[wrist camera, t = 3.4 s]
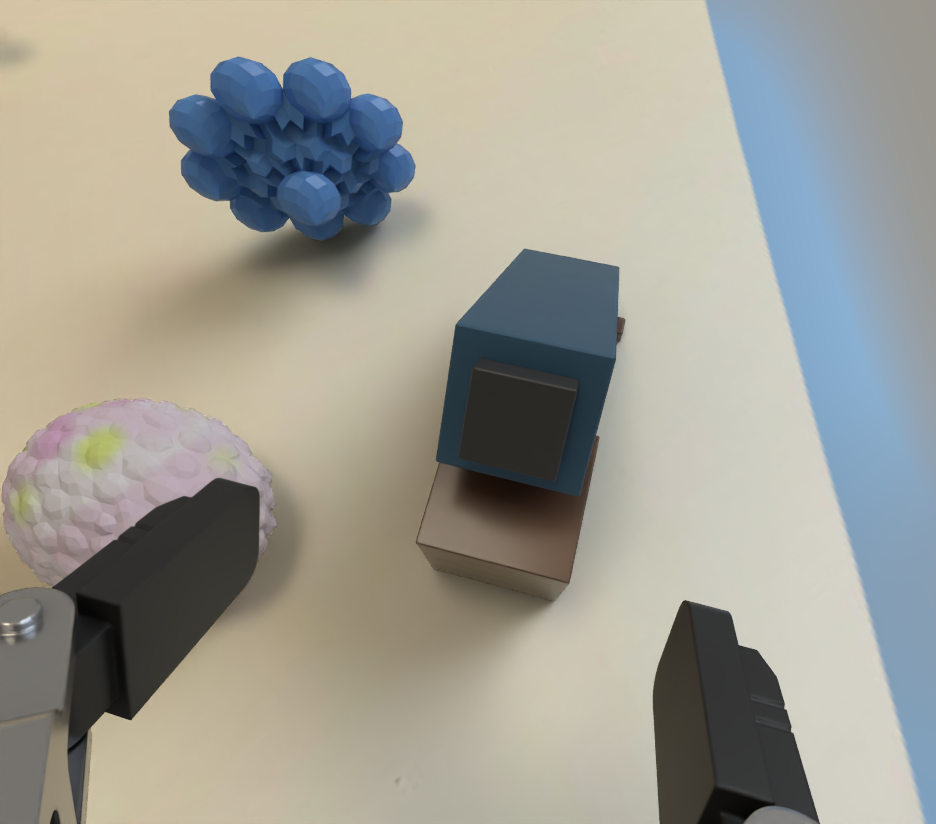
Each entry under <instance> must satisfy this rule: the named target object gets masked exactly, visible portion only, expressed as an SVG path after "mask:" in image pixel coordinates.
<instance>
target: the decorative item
mask: <svg viewBox="0 0 936 824" xmlns="http://www.w3.org/2000/svg"><path fill="white" fill-rule="evenodd" d="M216 478H223V479H227V480H231V481H235V482H239V483H242V484H246V485H250V486H254V487H256V488H257V489H258V491H259V494H260V519H259V555H258V561H259V557H260V556H262V554H263V553H264V552H265V550H266V548H267V540H268V539H269V538H270V537H271V533H272V532H273V531H274V529H275V528H276V527H277V526H276V520H275V518H274V517H273V516H272V514H271V513H270V512H271V511H272V509H273V508H274V507H275V506H276V501H275V496H274V495H273V491H272V489H271V487H270V486H269V485H270V483H271V482H272V478H271V473H270V472H269V471H268V470H267V468H266V467H265V466H263V465H262V464H261V462H260V461H258V460H257V459H256V458H255V457H253V456H252V453H251V450H250V448H249V446H248V445H247V443H245V442H244V441H243V440H242V439H241V438H239V437H238V436H236V435H234V434H232V433H231V431H230V430H229V428H228V427H227V426H226V425H224V424H223V423H222V422H221V421H220V420H218V419H216V418H212V417H208V416H204V414H202V413H200V412H199V411H197V410H195V409H190V408H180V407H179V406H178V405H176V404H174V403H171V402H167V401H162V402H159V403H156V402H154V401H152V400H150V399H135V400H133V401H131V400H128V399H115V400H113V401H104V402H102V403H94V404H89V405H85V406H82V407H79V408H76V409H74V410H72V411H71V412H70V413H68V414H65V415H63V416H59V417H58V418H56V419H55V420H53V421H52V422H51V423H49V424H48V425H47V426H46V428H45V429H41V430H38V431H36V432H35V433H34V435H33V436H32V437H31V438H30V439H29V440H28V442H27V443H26V447H25V448H24V449H23V451H22V452H21V453H19V454H18V455H17V456H16V457H15V459H14V460H13V461H12V463H11V464H10V465H9V468H8V472H7V477H6V479H5V481H4V483H3V487H2V501H3V503H4V505H5V511H4V512H3V519H4V529H5V532H6V534H7V535H8V536H9V540H10V542H11V543H12V545H13V547H14V548H15V549H16V551H17V554H18V555H19V557H20V559H21V561H22V562H23V563H25V564H26V565H27V566H29V567H30V568H31V569H33V570H34V573H35V574H36V576H37V577H38V578H39V580H40V581H41V582H44V583H46V584H49V585H51V586H55V585H56V584H57V583H59V582H60V581H61V580H63V579H64V578H65V577H66V576H68V575H69V574H70V573H72V572H73V571H74V570H75V569H77V568H78V567H79V566H81V565H82V564H83V563H84V562H86V561H87V560H88V559H90V558H91V557H92V556H94V555H95V554H96V553H97V552H99V551H100V550H101V549H103V548H104V547H105V546H106V545H108V544H109V543H110V542H112V541H113V540H117V539H118V537H119V535H121V534H122V533H123V532H124V531H126V530H127V529H128V528H130V527H131V526H133V527H134V526H135V524H136V522H137V521H139V520H140V519H141V518H143V517H144V516H145V515H146V514H148V513H149V512H150V511H152V510H153V509H154V508H155V507H157V506H160V505H162V504H165V503H167V502H169V501H172V500H174V499H177V498H179V497H182V496H187V497H192V496H194V495H195V494H196V493H197V492H199V491H200V490H201V489H202V488H204V487H205V486H206V485H207V484H208V483H210V482H211V481H212V480H214V479H216ZM258 561H257V562H258Z"/></svg>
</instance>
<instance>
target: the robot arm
mask: <svg viewBox="0 0 936 824" xmlns="http://www.w3.org/2000/svg"><path fill="white" fill-rule="evenodd" d="M259 519H260V494H259V491H258V489H257V488H256V487H254V486H250V485H246V484H242V483H239V482H235V481H231V480H227V479H223V478H216V479H214V480H212V481H211V482H210V483H208V484H207V485H206V486H205V487H204V488H202V489H201V490H200V491H199V492H197V493H196V494H195V495H194V496H192V497H187V496H182V497H179V498H177V499H174V500H172V501H169V502H167V503H165V504H162V505H160V506H157V507H155V508H154V509H153V510H152V511H150V512H149V513H148V514H146V515H145V516H144V517H143V518H141V519H140V520H139V521H137V522H136V524H135V526H134V527H133V526H131V527H130V528H128V529H127V530H126V531H124V532H123V533H122V534H121V535H119V537H118V539H117V540H113V541H112V542H110V543H109V544H108V545H106V546H105V547H104V548H103V549H101V550H100V551H99V552H97V553H96V554H95V555H94V556H92V557H91V558H90V559H88V560H87V561H86V562H84V563H83V564H82V565H81V566H79V567H78V568H77V569H75V570H74V571H73V572H72V573H70V574H69V575H68V576H66V577H65V578H64V579H63V580H61V581H60V582H59V583H57V584H56V585H55V586H53V587H52V588H45V587H34V588H24V589H19V590H14V591H11V592H7V593H4V594H2V595H0V824H86V815H87V801H88V787H89V773H90V759H91V745H92V732H91V727H92V726H93V725H94V723H95V722H96V721H97V720H98V719H99V718H100V717H101V716H102V715H103V714H104V712H107V713H110V714H113V715H116V716H119V717H122V718H125V719H128V720H132V718H133V717H134V716H135V715H136V714H137V713H138V711H139V710H140V709H141V708H142V707H143V706H144V704H145V703H146V702H147V701H148V700H149V699H150V697H151V696H152V695H153V694H154V693H155V692H156V690H157V689H158V688H159V687H160V686H161V685H162V683H163V682H164V681H165V680H166V679H167V678H168V676H169V675H170V674H171V673H172V672H173V671H174V669H175V668H176V667H177V666H178V665H179V664H180V662H181V661H182V660H183V659H184V658H185V656H186V655H187V654H188V653H189V652H190V651H191V649H192V648H193V647H194V646H195V645H196V644H197V642H198V641H199V640H200V639H201V638H202V637H203V635H204V634H205V633H206V632H207V631H208V630H209V628H210V627H211V626H212V625H213V624H214V623H215V621H216V620H217V619H218V618H219V617H220V616H221V614H222V613H223V612H224V611H225V610H226V609H227V607H228V606H229V605H230V604H231V603H232V601H233V600H234V599H235V598H236V597H237V596H238V594H239V593H240V592H241V591H242V590H243V589H244V587H245V586H246V585H247V584H248V582H249V581H250V579H251V577H252V575H253V573H254V570H255V568H256V565H257V561H258V555H259ZM784 705H785V703H784V700H783V696H782V693H781V690H780V686H779V683H778V679H777V677H776V675H775V674H774V673H773V671H772V670H771V668H770V667H769V666H768V664H767V663H766V662H765V660H764V659H763V658H762V656H761V655H760V653H759V652H758V651H757V650H754V649H751V648H747V647H743V646H739V645H738V641H737V637H736V632H735V628H734V624H733V620H732V616H731V614H730V613H729V612H728V611H725V610H721V609H717V608H713V607H709V606H705V605H702V604H698V603H694V602H690V601H686V600H685V601H683V602H682V604H681V605H680V607H679V610H678V613H677V615H676V618H675V621H674V623H673V626H672V629H671V632H670V634H669V637H668V640H667V642H666V645H665V648H664V651H663V653H662V656H661V659H660V661H659V664H658V668H657V671H656V676H655V681H654V689H653V714H654V732H655V750H656V767H657V785H658V802H659V820H660V824H820V822H819V819H818V816H817V812H816V809H815V806H814V802H813V799H812V795H811V792H810V789H809V785H808V782H807V778H806V775H805V771H804V768H803V765H802V761H801V758H800V754H799V751H798V748H797V744H796V741H795V737H794V734H793V733H791V724H790V720H789V717H788V713H787V710H785V709H784Z"/></svg>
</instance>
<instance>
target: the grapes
mask: <svg viewBox="0 0 936 824" xmlns="http://www.w3.org/2000/svg"><path fill="white" fill-rule="evenodd" d="M211 92H212V93H213V95H214V97H215V98H216V99H214V98H211V97H208V96H202V95H193V96H189V97H186V98H183V99H180V100H177V102H176V103H175V104H174V106H173V107H172V108H171V110H170V111H169V120H170V128H171V129H172V131H173V132H174V134H175V135H176V137H177V139H178V140H179V141H180V142H181V143H182V144H184V145H185V146H186V147H188V148H189V149H190V150H189V151H188V152H187V154H186V155H185V156H184V158H183V159H182V160H181V174H182V176H183V177H184V179H185V180H186V182H187V183H188V185H189V187H191V188H192V189H193V190H195V191H196V192H198V193H199V194H200V195H202V196H203V197H205V198H208V199H211V200H214V201H230V209H231V210H232V212H233V214H234V215H235V217H236V218H237V220H239V221H240V222H241V223H243V224H244V225H246V226H247V227H248V228H251V229H253V230H256V231H259V232H271V231H275V230H277V229H279V228H281V227H283V226H284V224H285V223H286V221H287V220H288V219H289V218H290V220H291V221H292V223H293V225H294V226H295V228H296V229H297V230H298V231H300V232H301V233H302V234H304V235H305V236H307V237H309V238H312V239H315V240H327V239H330V238H332V237H333V236H335V235H337V234H338V232H339V231H340V230H341V228H342V227H343V221H344V215H345V216H347V217H348V218H349V219H351V220H352V221H353V222H355V223H358V224H361V225H376V224H377V223H379V222H381V221H383V220H384V219H385V217H386V216H387V215H388V213H389V212H390V208H391V198H390V196H389V193H391V192H400V191H401V190H403V189H405V188H407V186H408V185H409V184H410V182H411V181H412V179H413V178H414V173H415V163H414V161H413V158H412V156H411V154H410V153H409V152H408V151H407V150H406V149H405V148H403V147H402V146H401V145H399V144H396V143H397V142H398V141H399V139H400V138H401V135H402V125H403V121H402V119H401V117H400V114H399V112H398V110H397V108H396V107H395V106H393V105H392V104H391V103H390V102H389V101H388V100H387V99H385V98H381V97H378V96H375V95H371V94H363V95H359V96H357V97H354V98H352V99H351V88H350V86H349V84H348V82H347V80H346V78H345V75H344V74H343V73H342V72H340V71H339V70H338V69H337V68H336V67H335V66H333V65H332V64H330V63H327V62H324V61H321V60H317V59H314V58H311V57H310V58H307V59H304V60H301V61H298V62H295V63H292V64H291V65H290V67H289V68H288V69H287V71H286V72H285V73H284V75H283V89H282V87H281V85H280V83H279V81H278V79H277V77H276V75H275V74H274V73H273V72H271V71H270V70H269V69H268V68H267V67H265V66H264V65H263V64H262V63H259V62H256V61H253V60H249V59H246V58H242V57H236V58H232V59H229V60H226V61H223V62H220V63H219V64H218V65H217V66H216V68H215V69H214V70H213V72H212V73H211Z"/></svg>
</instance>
